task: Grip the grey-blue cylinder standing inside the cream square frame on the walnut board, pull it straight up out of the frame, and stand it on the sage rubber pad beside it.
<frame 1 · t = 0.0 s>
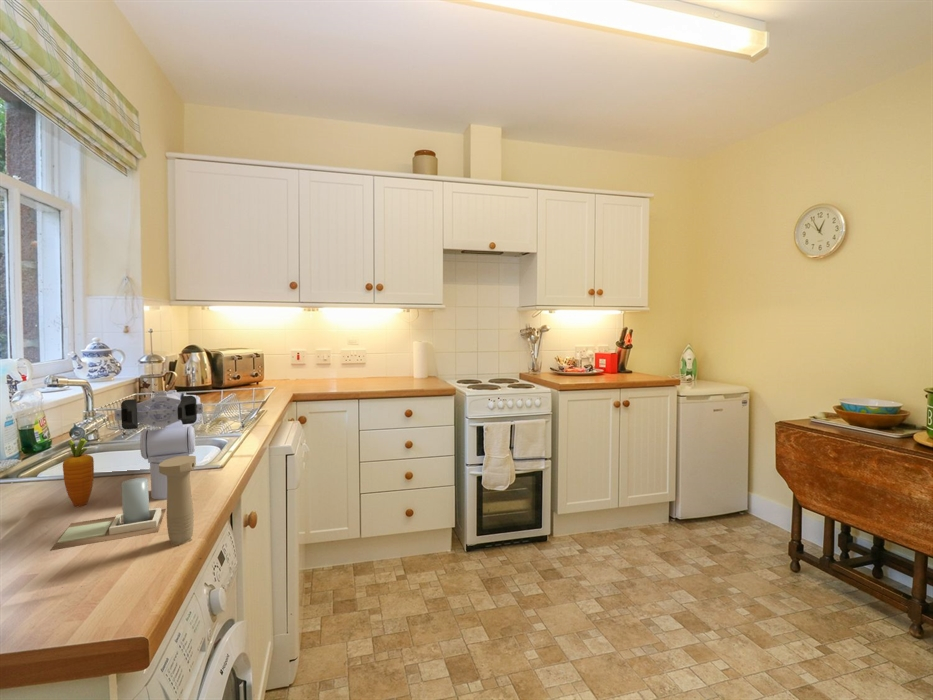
hand: (155, 414, 86), 22 cm above the countertop, tool horizontal, fingers open, 7 cm apart
handle: (181, 548, 82), on the countertop
cream square frame: (137, 530, 89), resting on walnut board
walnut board: (114, 533, 87), on the countertop
carrot: (81, 511, 98), on the countertop
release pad: (86, 538, 85), resting on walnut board
grey-blue cylinder: (136, 523, 89), point 1 cm above the countertop, touching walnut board
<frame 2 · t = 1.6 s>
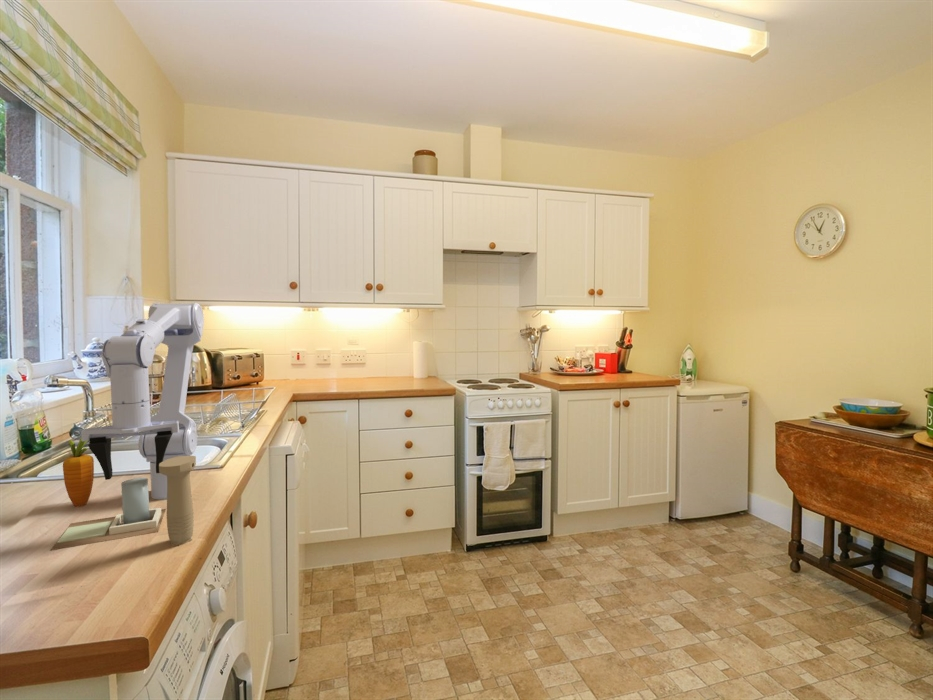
hand: (134, 474, 88), 10 cm above the countertop, tool pointing down, fingers open, 7 cm apart
nothing on the countertop moved.
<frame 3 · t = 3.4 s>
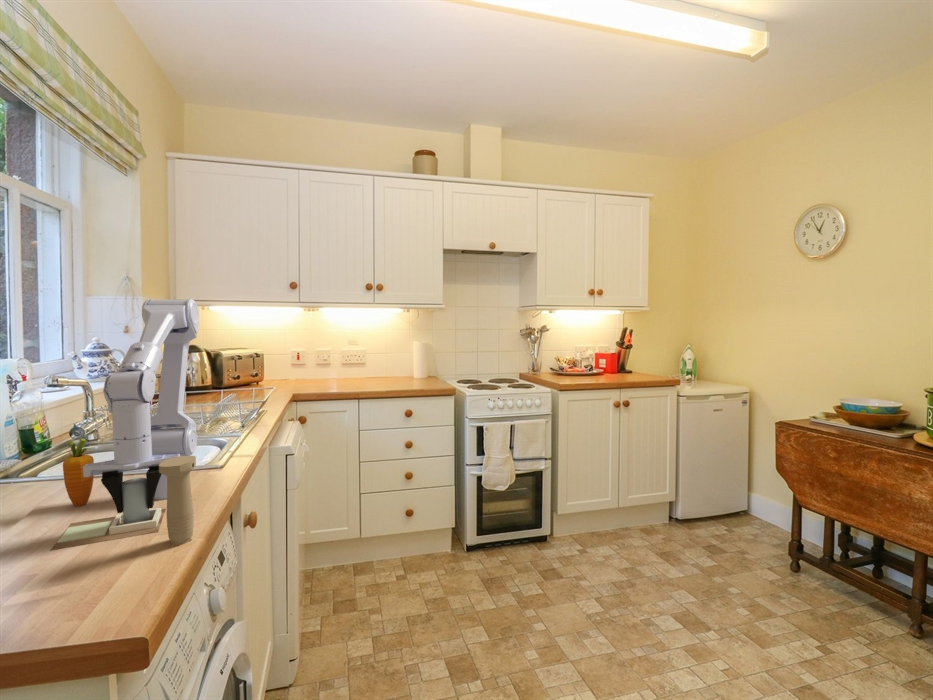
hand: (136, 508, 88), 4 cm above the countertop, tool pointing down, fingers closed on grey-blue cylinder, 4 cm apart
grey-blue cylinder: (136, 523, 89), point 1 cm above the countertop, touching gripper, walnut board
everything else where it was.
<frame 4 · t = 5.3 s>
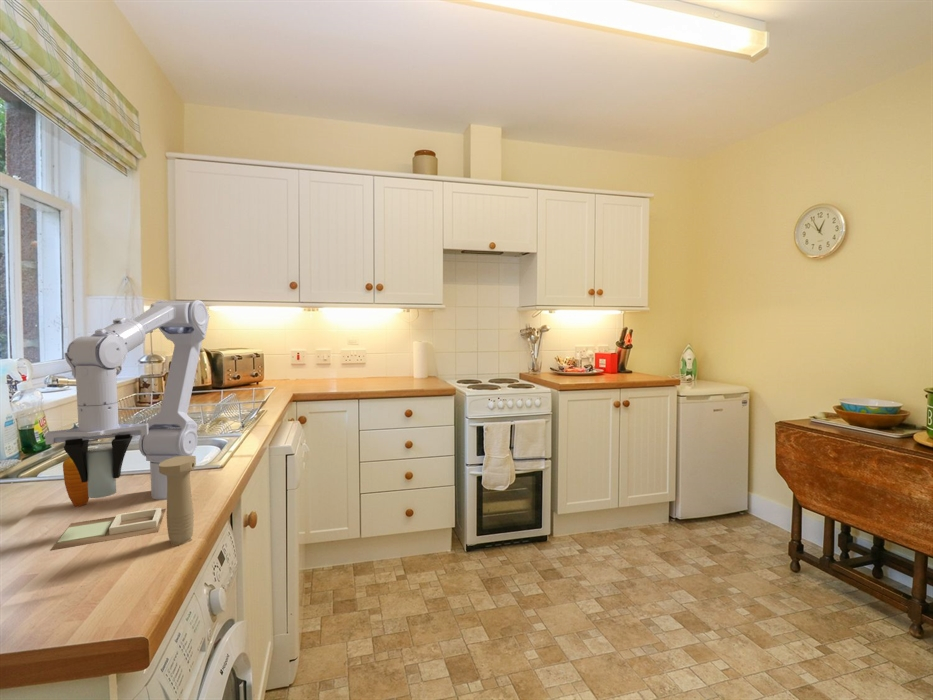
hand: (101, 478, 86), 10 cm above the countertop, tool pointing down, fingers closed on grey-blue cylinder, 4 cm apart
grey-blue cylinder: (102, 494, 86), point 8 cm above the countertop, touching gripper
everything else where it was.
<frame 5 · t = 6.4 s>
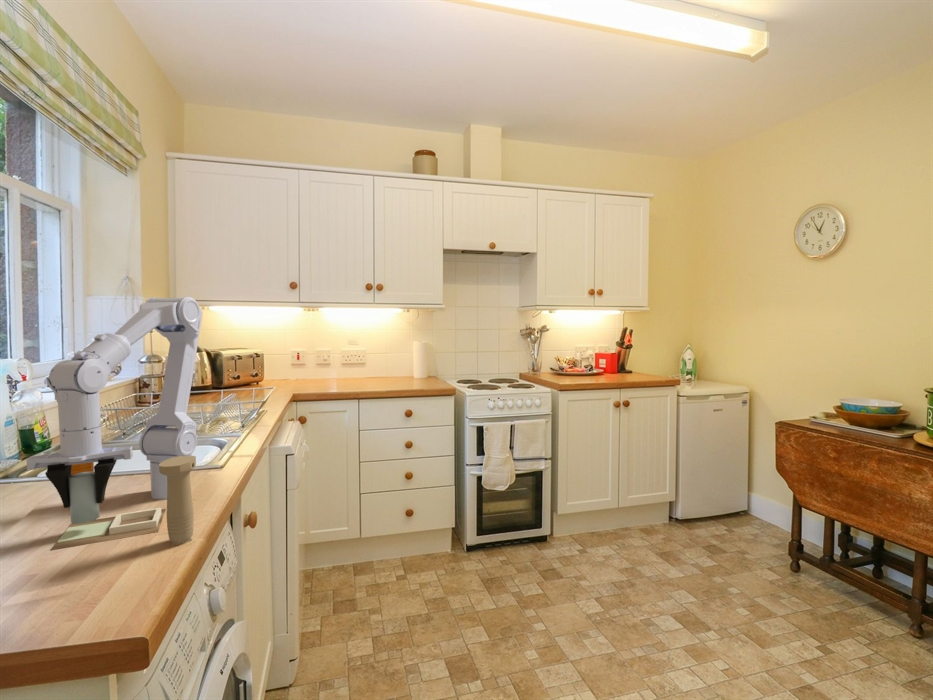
hand: (84, 503, 85), 6 cm above the countertop, tool pointing down, fingers closed on grey-blue cylinder, 4 cm apart
grey-blue cylinder: (85, 519, 85), point 4 cm above the countertop, touching gripper
everything else where it was.
when the fingers open (6 cm above the countertop, at t = 7.4 s): grey-blue cylinder drops 1 cm, resting on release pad.
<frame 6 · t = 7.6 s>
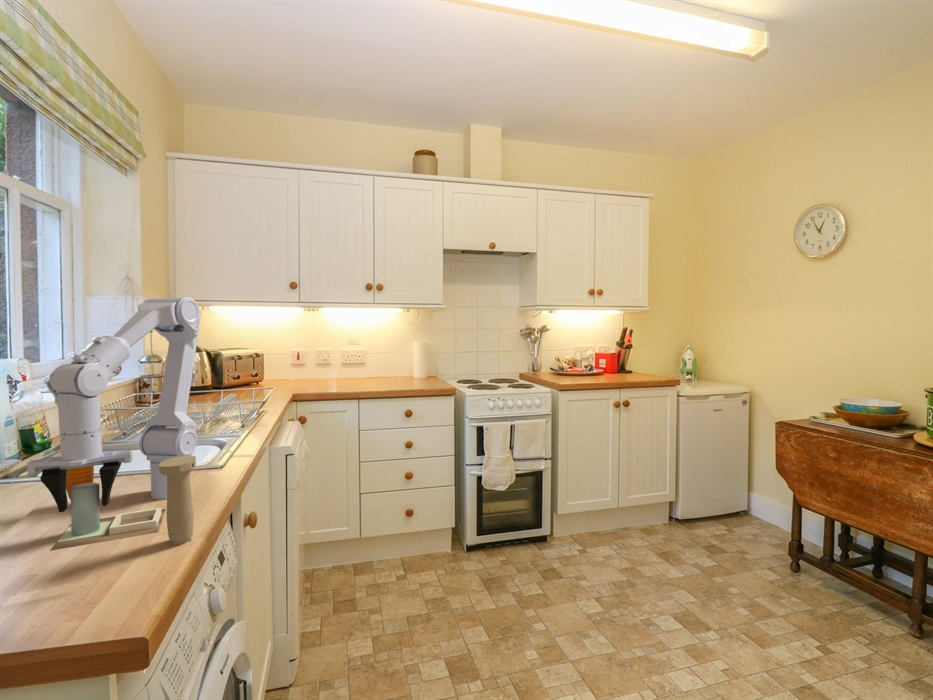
hand: (84, 507, 85), 6 cm above the countertop, tool pointing down, fingers open, 5 cm apart
grey-blue cylinder: (85, 530, 85), point 1 cm above the countertop, touching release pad
everything else where it was.
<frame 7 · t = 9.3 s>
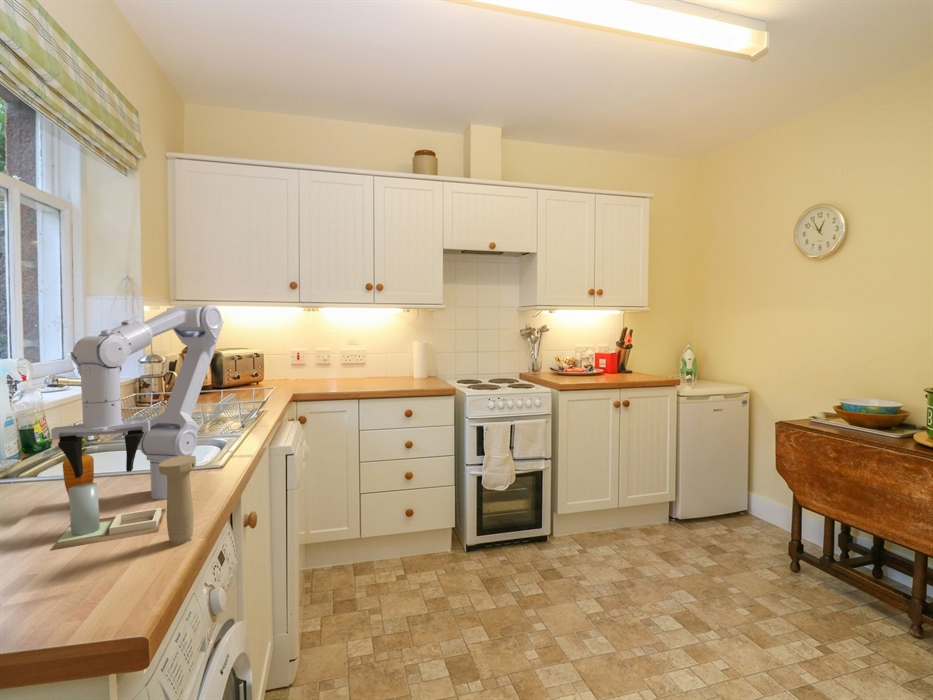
hand: (104, 473, 89), 10 cm above the countertop, tool pointing down, fingers open, 7 cm apart
nothing on the countertop moved.
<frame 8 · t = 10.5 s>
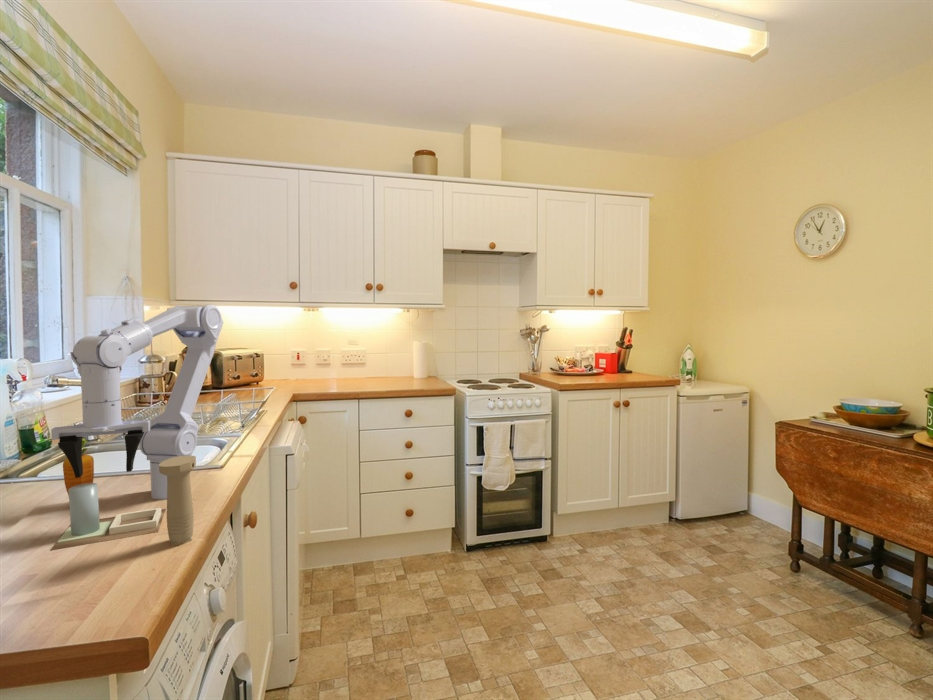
hand: (104, 473, 89), 10 cm above the countertop, tool pointing down, fingers open, 7 cm apart
nothing on the countertop moved.
at the end: grey-blue cylinder 0.0 cm off-centre on the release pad, point 1.4 cm above the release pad's base; grey-blue cylinder tilted 1°; the gripper is holding nothing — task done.
